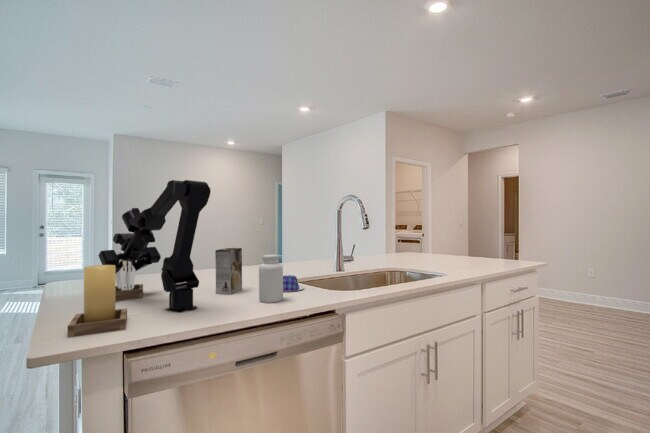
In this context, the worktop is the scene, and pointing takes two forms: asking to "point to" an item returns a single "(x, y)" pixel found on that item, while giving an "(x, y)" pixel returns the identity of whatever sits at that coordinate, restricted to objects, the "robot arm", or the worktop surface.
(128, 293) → the empty pocket
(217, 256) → the coffee box
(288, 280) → the plaid hat
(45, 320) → the worktop surface
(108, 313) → the cream pillar candle
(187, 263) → the robot arm
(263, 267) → the pill bottle
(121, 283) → the beer glass
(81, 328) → the brown square tray piece
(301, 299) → the worktop surface
